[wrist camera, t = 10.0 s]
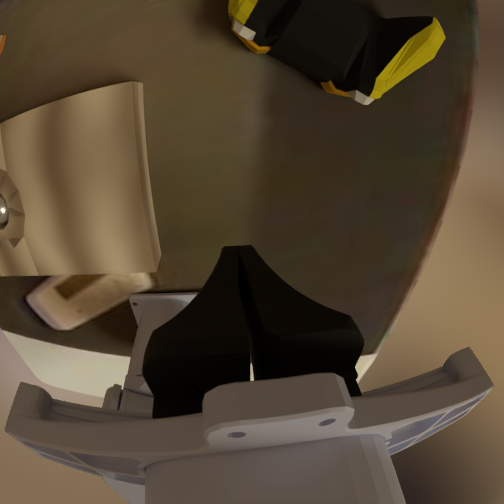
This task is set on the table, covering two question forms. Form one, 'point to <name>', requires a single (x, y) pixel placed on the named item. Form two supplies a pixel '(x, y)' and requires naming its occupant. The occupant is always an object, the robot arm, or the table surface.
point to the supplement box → (2, 42)
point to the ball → (3, 210)
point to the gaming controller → (338, 42)
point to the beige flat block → (78, 187)
